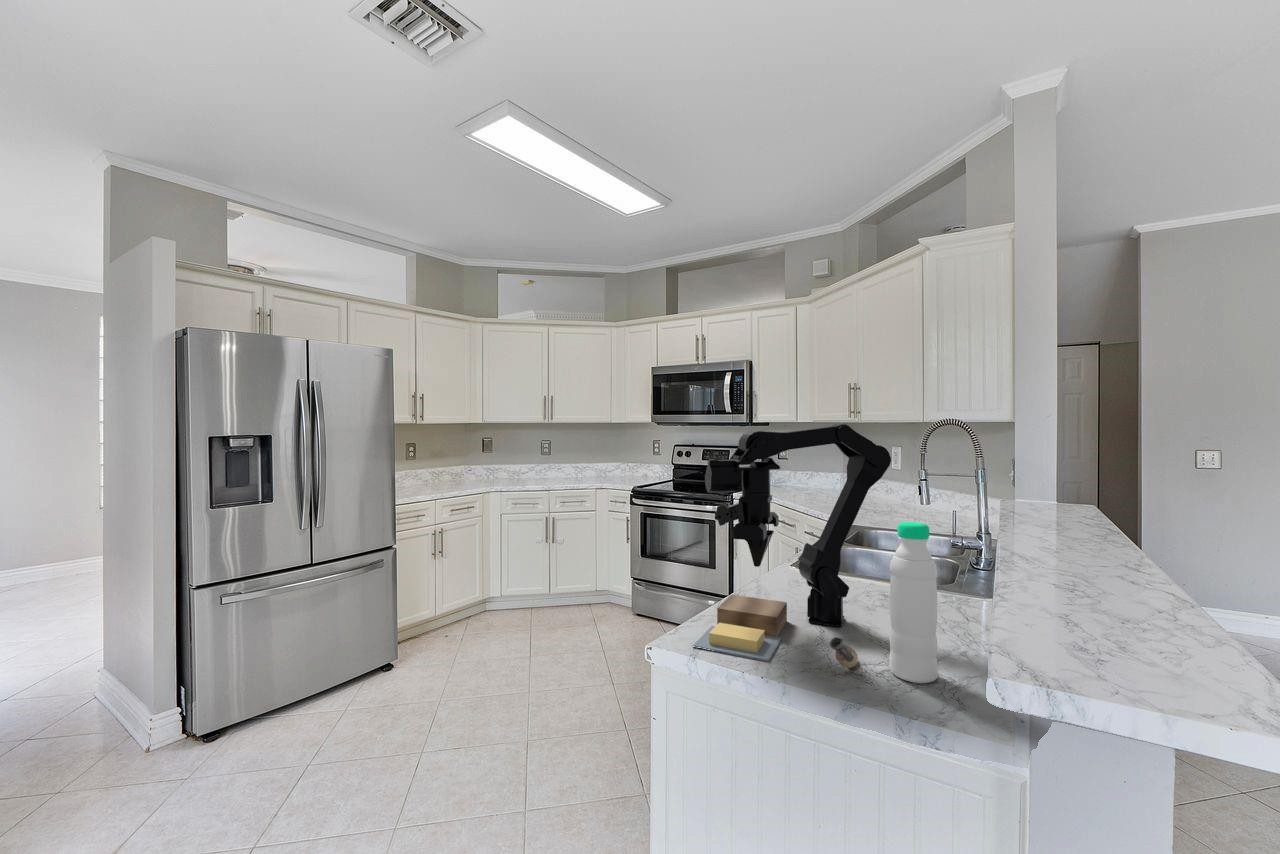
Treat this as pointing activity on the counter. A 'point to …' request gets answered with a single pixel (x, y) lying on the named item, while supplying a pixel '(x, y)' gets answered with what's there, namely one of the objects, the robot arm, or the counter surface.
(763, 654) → the mat
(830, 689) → the counter surface
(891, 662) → the water bottle
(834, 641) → the vase
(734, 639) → the pale yellow rectangular block
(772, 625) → the brown box
